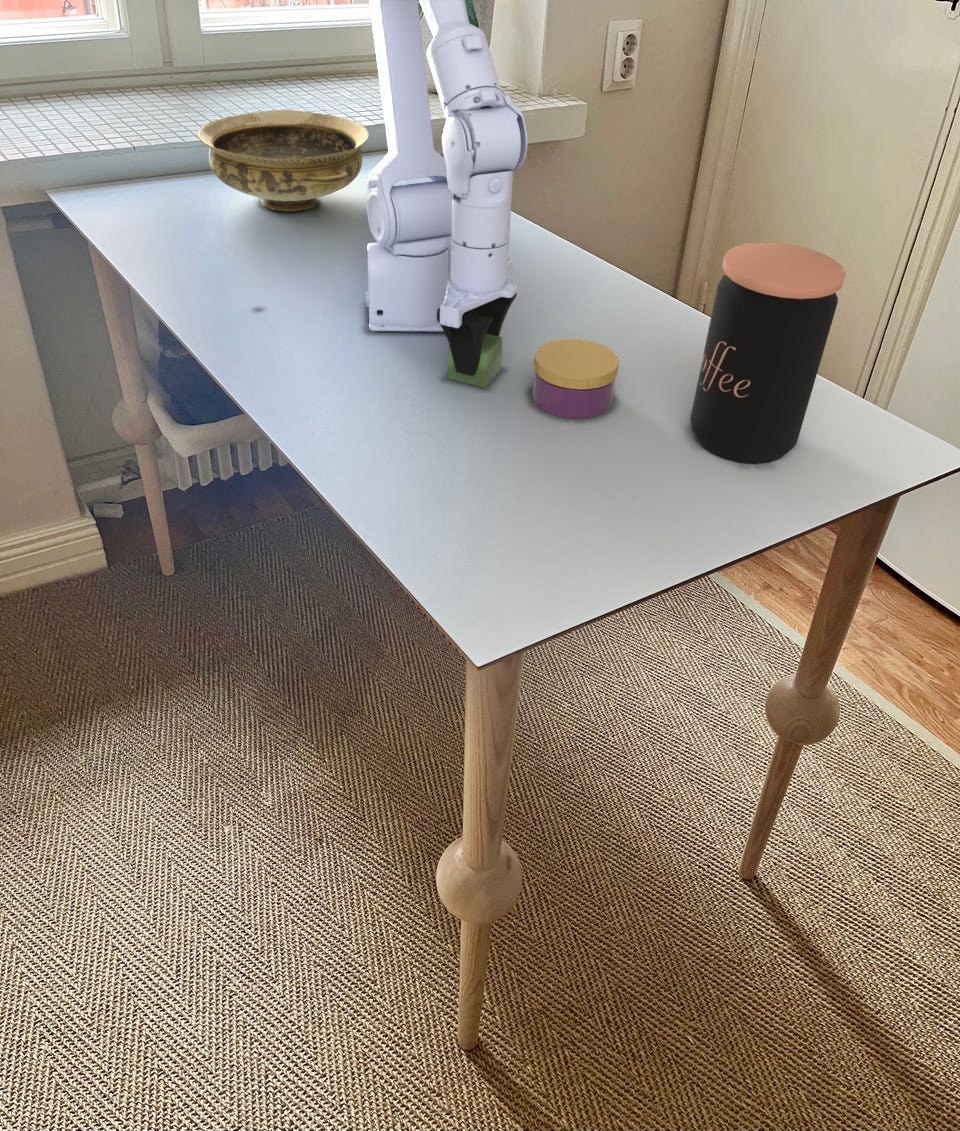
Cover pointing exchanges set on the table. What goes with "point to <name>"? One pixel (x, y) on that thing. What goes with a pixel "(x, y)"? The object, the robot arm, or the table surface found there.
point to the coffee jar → (763, 350)
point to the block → (481, 363)
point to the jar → (572, 399)
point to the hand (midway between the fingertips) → (474, 363)
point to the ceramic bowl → (285, 155)
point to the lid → (576, 364)
